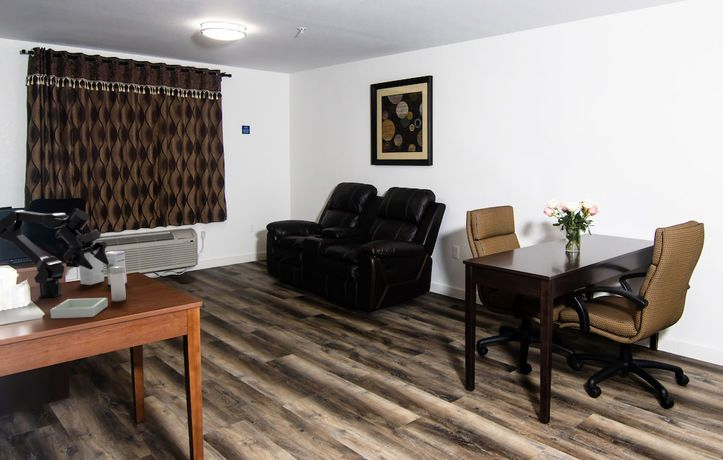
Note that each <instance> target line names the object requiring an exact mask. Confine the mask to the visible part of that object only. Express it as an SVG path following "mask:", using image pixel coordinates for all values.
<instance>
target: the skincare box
mask: <svg viewBox="0 0 723 460" xmlns="http://www.w3.org/2000/svg"><path fill="white" fill-rule="evenodd" d="M84 256H85V258H86V259H87V260H88V261H89V263H90V264H91V265H92V267H93V269H92V270H90V269H88V268H85V267H83V266H80V265H78V267H79V279H80V284H81V285H87V286H91V285H95V284H98V283H102V282H105V274H104V263H103V262H101V261H100V260H98V259H96V258H95V257H94V255H92V254H91V253H85V254H84Z"/></svg>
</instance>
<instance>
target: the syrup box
mask: <svg viewBox="0 0 723 460" xmlns="http://www.w3.org/2000/svg"><path fill="white" fill-rule="evenodd" d="M105 254H106V256H107V259H108V261H109V264H108V265H106V264H105V265H106V275H107V279H106V280H107V285H110V286H111V280H110V270H109V267H112V266H124V278H125V284H127V282H128V280H127V269H126V256H125V255H126V254H125V251H124V250H123V251H121V250H110V251H107V252H105Z"/></svg>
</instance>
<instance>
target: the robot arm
mask: <svg viewBox="0 0 723 460" xmlns="http://www.w3.org/2000/svg"><path fill="white" fill-rule="evenodd" d="M90 220H91V216H90V214H89V213H87V212H85V211H83V210H81V209H79V207H78V208H73V210H72V211H71V213H70V214H69V215H67V213H65V212H54V213H41V212H35V211H27V210H23V209H20V210H19V209H18V210H13V211H11V212H10V213H9V214H8V215H6V216H5V217H3V218H1V219H0V239H2V240H5V241H9V242H10V243H12V244H13V245H14V246H15V247H16V248H17V249H19V250H20V251H21V252H22V253H23V254H24V255H25V256H26V257H27V258H28V259H29V260H31V262H33V263H34V264H35V265H36V272H37V274H36V275H35V276H34V281H35V283H36V284H39V292H40V294H39V295H38V298H40V299H41V298H56V297H58V296H60V295H61V294H63V292H62V286H61V282H60V280H61V279H63V275H64V273H65V266H64V265H63V261H61V260H60V259H59V257H57V256H55V255H52V256H47V255H46V254H45V253H44V252H43V251H42V250H40V249H39V248H38V246H37V245H36V244H34V243H33V242H32V241H31V240H30V239H29V238H27V237H26V236H25V235H24V233H23V228H22V227H23V225H24V222H26V223H34V224H39V225H40V224H41V225H42V226H44V227H46V228H49V229H51V230H53V229H59V228H60V229H59V230H56V231H55V237H54V238H56V239H59V238H62V239H63V240H64V241H65V242H66V243H67V245H66V246H67V248H68V249H67V250H66V251H65V253H64V254H63V260H64V261H65V262H66V263H70V264H75V265H77V266H79V265H80V266H83V267H85V268H88V269H90V270H92V269H93V267H92V265H91V264H90V263H89V261H88V260H87V259H86V258H85V256H84V254H85V253H91V254H92V255H94V257H95V258H96V259H98V260H100V261H101V262H103V265H104V264H105V265H108V264H109V261H108V259H107V256H106V254H105V253H106V248H107V247H108V243H107V242H106V241H105V240H100V241H96V240H99V239H101V236H102V235H101V234H102V233H101V231H99V230H98V229H94V230H92V231H89V232H87V233H85V234H84V233H83V234H81V233H80V232H79V231H81V230H83V229H84V227H85V226H86V224H87V223H88V222H89V221H90ZM94 241H96V242H95V243H94Z"/></svg>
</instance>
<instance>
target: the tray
mask: <svg viewBox="0 0 723 460" xmlns="http://www.w3.org/2000/svg"><path fill="white" fill-rule="evenodd" d="M108 301H109V300H108V297H95V298H93V297H91V298H90V297H89V298H67V299H66V300H64V301H63V302H61V303H59V304H57V305H56V306H54V307H52V308H51V309H50V310H49V311H50V312H49V313H50V319H69V318H70V319H73V318H93V317H95V316H96V315H98V314H99V313H100V312H102V311H103V310H104V309H106V308H107V307H109V302H108Z"/></svg>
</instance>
